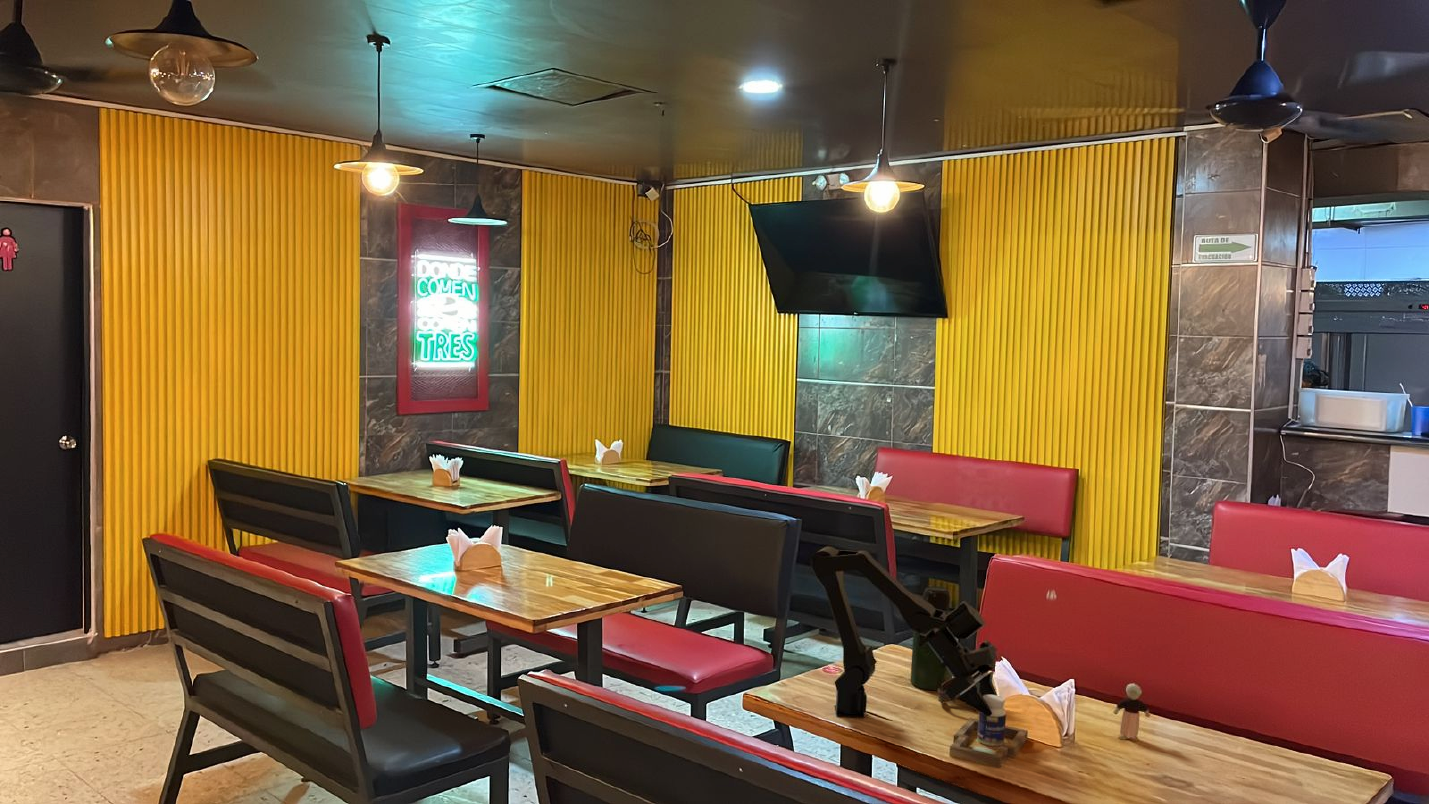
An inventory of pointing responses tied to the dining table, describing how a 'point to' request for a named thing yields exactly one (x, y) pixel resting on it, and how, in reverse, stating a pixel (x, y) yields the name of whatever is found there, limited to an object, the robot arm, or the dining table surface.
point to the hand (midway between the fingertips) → (995, 711)
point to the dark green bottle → (929, 648)
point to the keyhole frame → (986, 754)
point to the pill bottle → (992, 722)
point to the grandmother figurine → (1131, 713)
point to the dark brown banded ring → (942, 692)
